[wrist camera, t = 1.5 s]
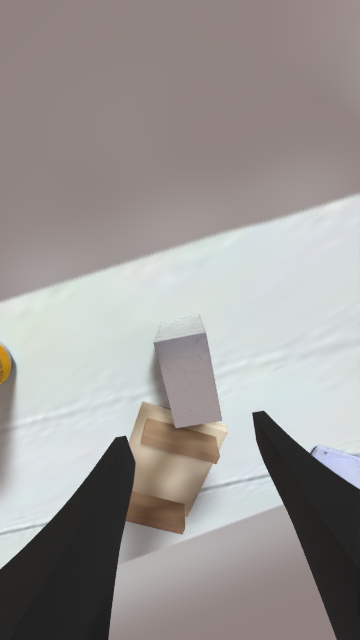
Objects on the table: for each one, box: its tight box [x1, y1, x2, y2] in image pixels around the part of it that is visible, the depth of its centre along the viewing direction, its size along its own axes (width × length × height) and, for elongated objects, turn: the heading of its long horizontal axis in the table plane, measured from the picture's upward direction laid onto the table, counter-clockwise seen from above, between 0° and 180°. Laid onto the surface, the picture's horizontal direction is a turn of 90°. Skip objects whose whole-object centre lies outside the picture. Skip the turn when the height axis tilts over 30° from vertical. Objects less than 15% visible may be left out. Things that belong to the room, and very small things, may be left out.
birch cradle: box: [126, 401, 228, 534], centre depth 24 cm, size 10×14×4 cm
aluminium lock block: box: [154, 315, 222, 428], centre depth 19 cm, size 4×8×6 cm, turn 11°
